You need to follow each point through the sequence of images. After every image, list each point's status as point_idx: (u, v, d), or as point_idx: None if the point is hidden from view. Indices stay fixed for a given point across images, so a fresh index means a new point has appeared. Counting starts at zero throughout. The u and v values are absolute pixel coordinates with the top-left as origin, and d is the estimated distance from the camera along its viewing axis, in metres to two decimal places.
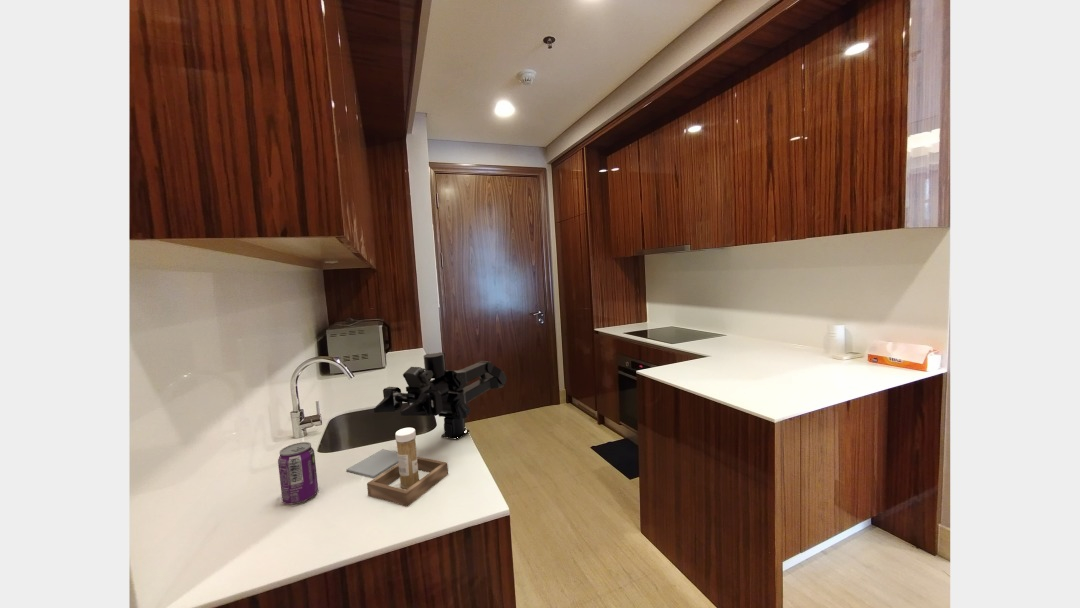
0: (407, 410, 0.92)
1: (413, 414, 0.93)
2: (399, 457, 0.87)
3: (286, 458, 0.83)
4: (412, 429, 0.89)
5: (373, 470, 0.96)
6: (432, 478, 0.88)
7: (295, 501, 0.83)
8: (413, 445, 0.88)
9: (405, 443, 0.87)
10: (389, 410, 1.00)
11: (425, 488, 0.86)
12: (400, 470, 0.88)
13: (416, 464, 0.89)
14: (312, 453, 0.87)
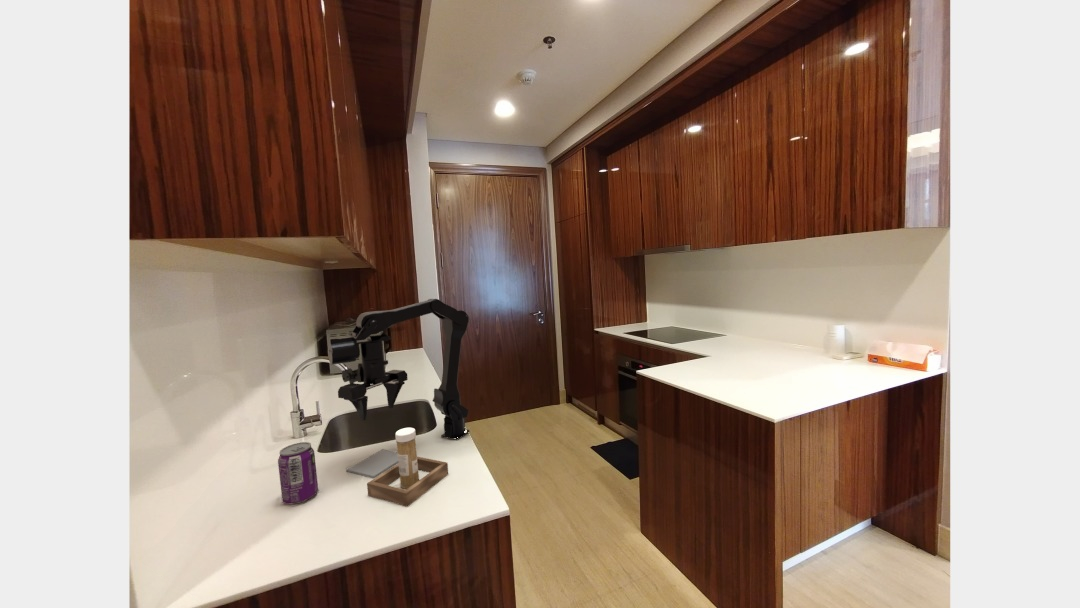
0: (360, 415, 0.97)
1: (362, 411, 0.96)
2: (399, 457, 0.87)
3: (286, 457, 0.83)
4: (412, 429, 0.89)
5: (373, 470, 0.96)
6: (432, 478, 0.88)
7: (295, 501, 0.83)
8: (413, 445, 0.88)
9: (405, 443, 0.87)
10: (395, 391, 1.05)
11: (425, 488, 0.86)
12: (400, 470, 0.88)
13: (416, 464, 0.89)
14: (312, 453, 0.87)
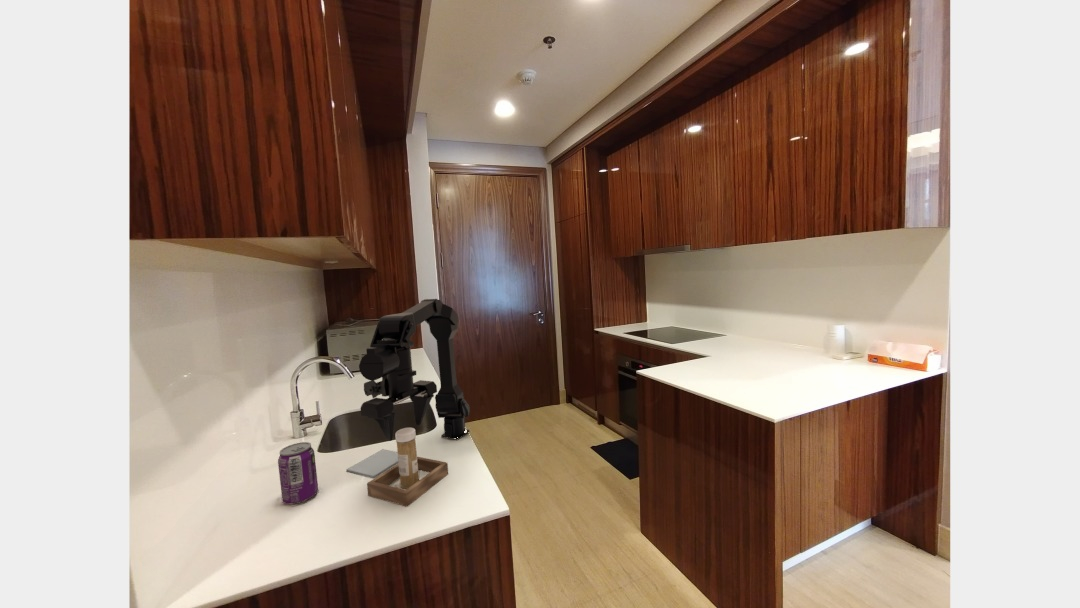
0: (386, 435, 0.84)
1: (388, 430, 0.83)
2: (399, 457, 0.87)
3: (286, 458, 0.83)
4: (412, 429, 0.89)
5: (373, 470, 0.96)
6: (432, 478, 0.88)
7: (295, 501, 0.83)
8: (413, 445, 0.88)
9: (405, 443, 0.87)
10: (423, 406, 0.92)
11: (425, 488, 0.86)
12: (400, 470, 0.88)
13: (416, 464, 0.89)
14: (312, 453, 0.87)
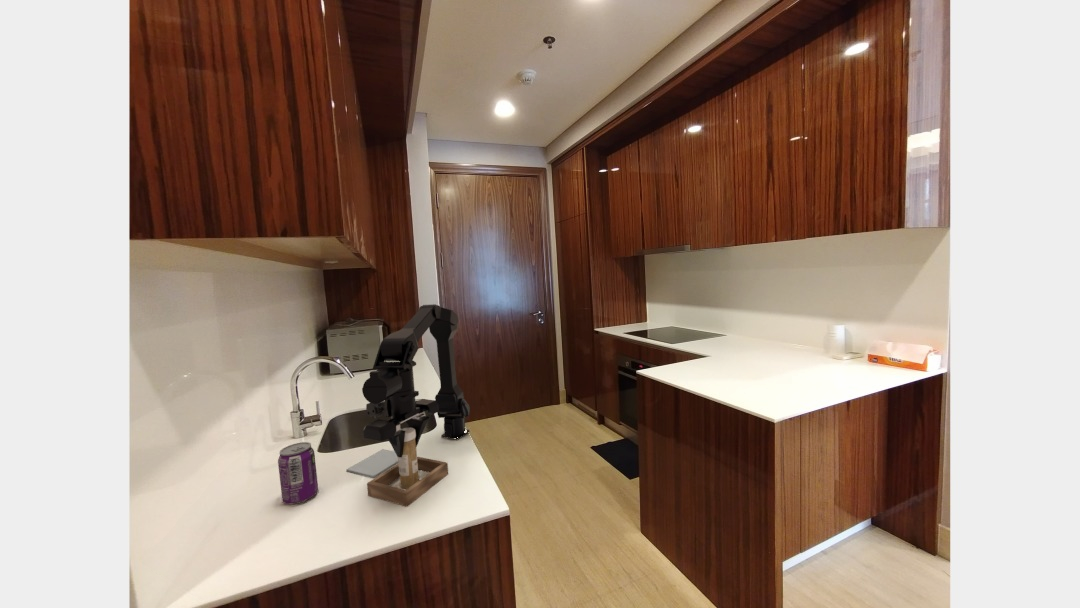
0: (396, 452, 0.86)
1: (399, 447, 0.85)
2: (399, 457, 0.87)
3: (286, 458, 0.83)
4: (412, 429, 0.89)
5: (373, 470, 0.96)
6: (432, 478, 0.88)
7: (295, 501, 0.83)
8: (413, 445, 0.88)
9: (405, 443, 0.87)
10: (419, 429, 0.90)
11: (425, 488, 0.86)
12: (400, 470, 0.88)
13: (416, 464, 0.89)
14: (312, 453, 0.87)
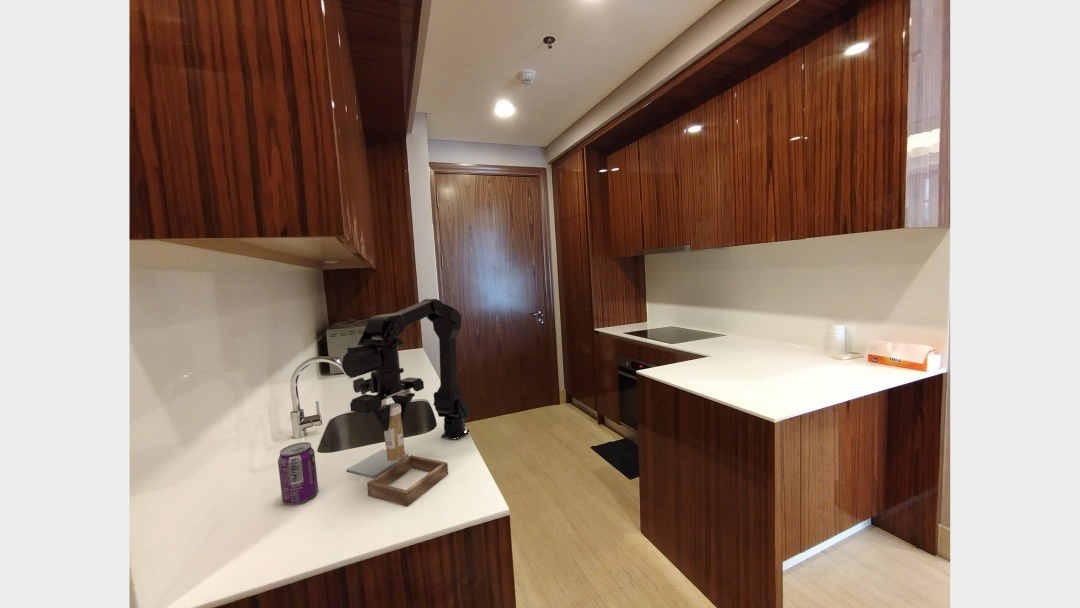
0: (382, 425, 0.91)
1: (385, 421, 0.89)
2: (385, 431, 0.92)
3: (286, 458, 0.83)
4: (398, 404, 0.93)
5: (373, 470, 0.96)
6: (432, 478, 0.88)
7: (295, 501, 0.83)
8: (399, 419, 0.92)
9: (391, 417, 0.91)
10: (404, 405, 0.94)
11: (425, 488, 0.86)
12: (386, 443, 0.92)
13: (402, 438, 0.93)
14: (312, 453, 0.87)
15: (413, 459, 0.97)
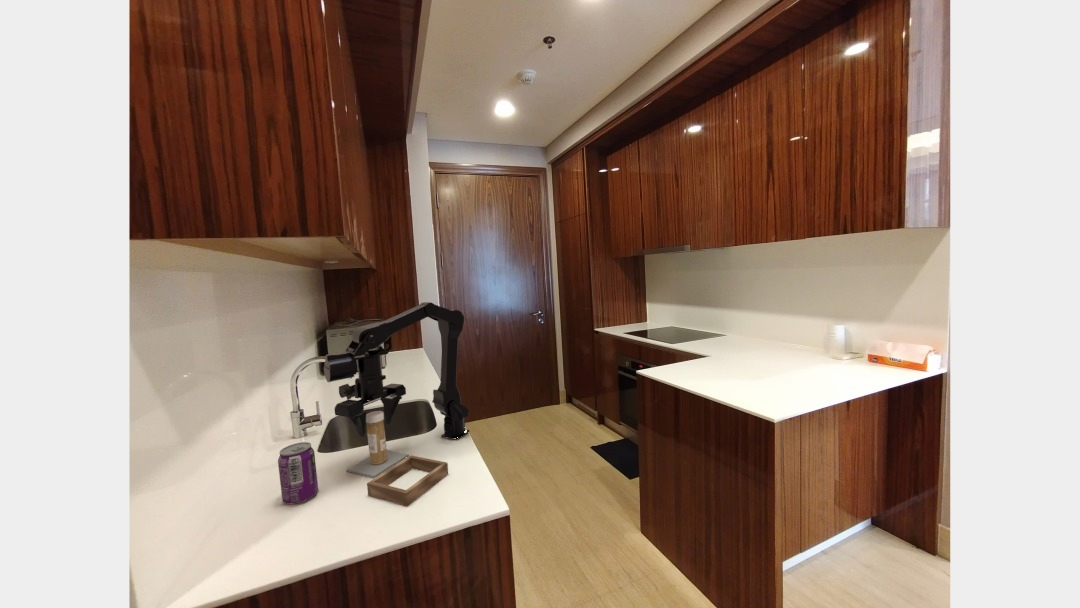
0: (359, 431, 0.96)
1: (361, 427, 0.95)
2: (368, 436, 0.99)
3: (286, 457, 0.83)
4: (380, 412, 1.01)
5: (373, 470, 0.96)
6: (432, 478, 0.88)
7: (295, 501, 0.83)
8: (381, 426, 1.00)
9: (373, 424, 0.98)
10: (392, 407, 1.03)
11: (425, 488, 0.86)
12: (369, 448, 0.99)
13: (384, 443, 1.00)
14: (312, 453, 0.87)
15: (413, 459, 0.97)
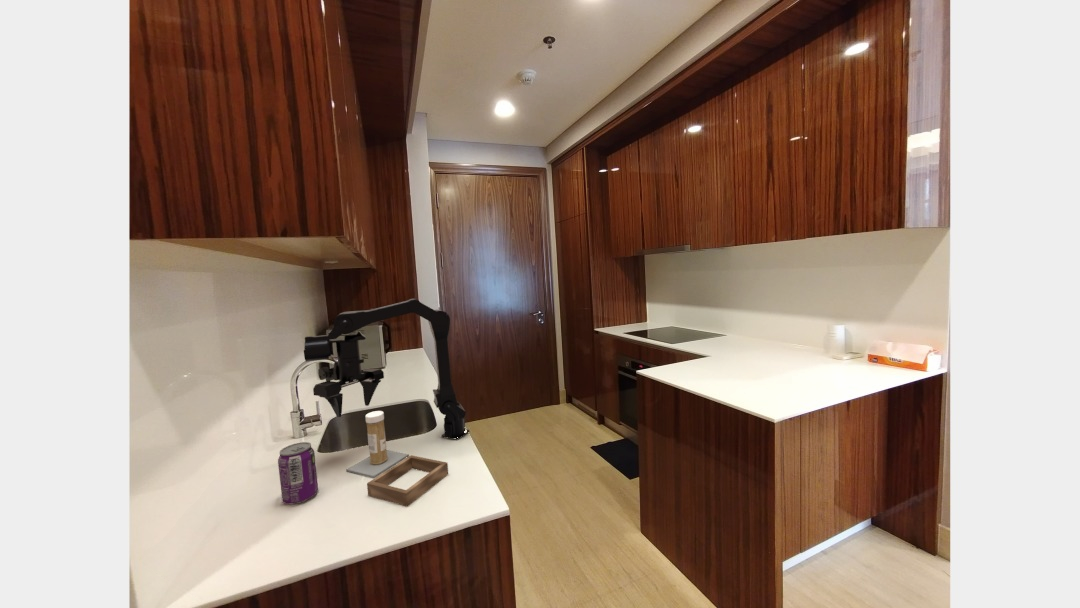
0: (336, 412, 1.00)
1: (337, 408, 0.99)
2: (368, 436, 0.99)
3: (286, 458, 0.83)
4: (381, 412, 1.01)
5: (373, 470, 0.96)
6: (432, 478, 0.88)
7: (295, 501, 0.83)
8: (381, 426, 1.00)
9: (374, 424, 0.98)
10: (371, 389, 1.08)
11: (425, 488, 0.86)
12: (369, 448, 0.99)
13: (384, 443, 1.00)
14: (312, 453, 0.87)
15: (413, 459, 0.97)
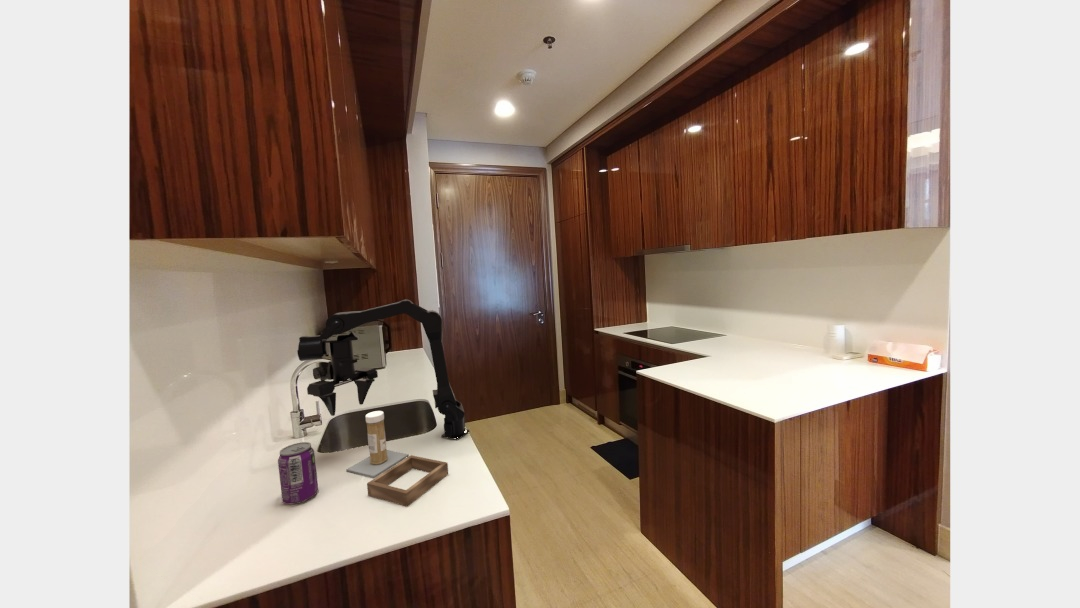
0: (329, 411, 1.02)
1: (331, 407, 1.01)
2: (368, 436, 0.99)
3: (286, 458, 0.83)
4: (381, 412, 1.01)
5: (373, 470, 0.96)
6: (432, 478, 0.88)
7: (295, 501, 0.83)
8: (381, 426, 1.00)
9: (374, 424, 0.98)
10: (364, 388, 1.10)
11: (425, 488, 0.86)
12: (369, 448, 0.99)
13: (384, 443, 1.00)
14: (312, 453, 0.87)
15: (413, 459, 0.97)
